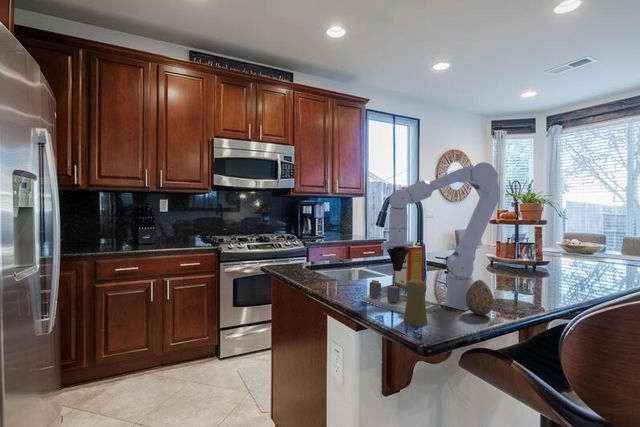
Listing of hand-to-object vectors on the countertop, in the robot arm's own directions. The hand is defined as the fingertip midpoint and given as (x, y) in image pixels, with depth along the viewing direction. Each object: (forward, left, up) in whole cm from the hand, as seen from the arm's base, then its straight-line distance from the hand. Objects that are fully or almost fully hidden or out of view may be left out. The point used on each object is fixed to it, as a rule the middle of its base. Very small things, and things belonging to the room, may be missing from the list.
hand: (397, 270), depth 108 cm
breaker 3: (+6, -4, -8) cm, 11 cm away
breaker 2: (+6, +3, -8) cm, 10 cm away
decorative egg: (-7, +23, -10) cm, 26 cm away
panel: (+3, +3, -10) cm, 11 cm away
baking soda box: (-21, -10, -10) cm, 25 cm away
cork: (+13, +15, -10) cm, 22 cm away
